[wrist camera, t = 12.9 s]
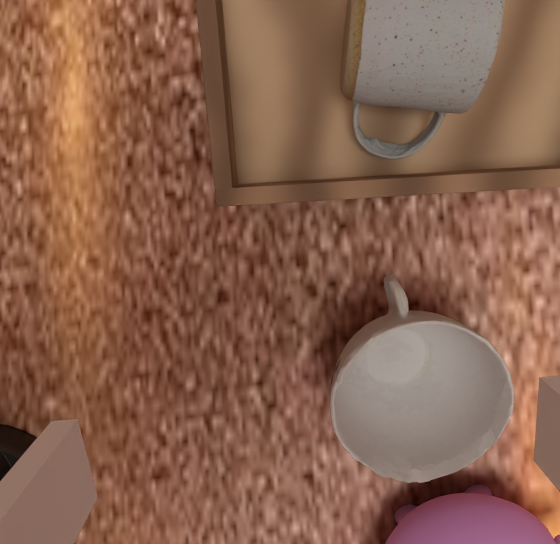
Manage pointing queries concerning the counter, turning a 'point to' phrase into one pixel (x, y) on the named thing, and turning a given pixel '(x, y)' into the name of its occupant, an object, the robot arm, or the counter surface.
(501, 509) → the teapot
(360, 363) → the teacup
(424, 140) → the ceramic mug
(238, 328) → the counter surface
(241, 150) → the tray
